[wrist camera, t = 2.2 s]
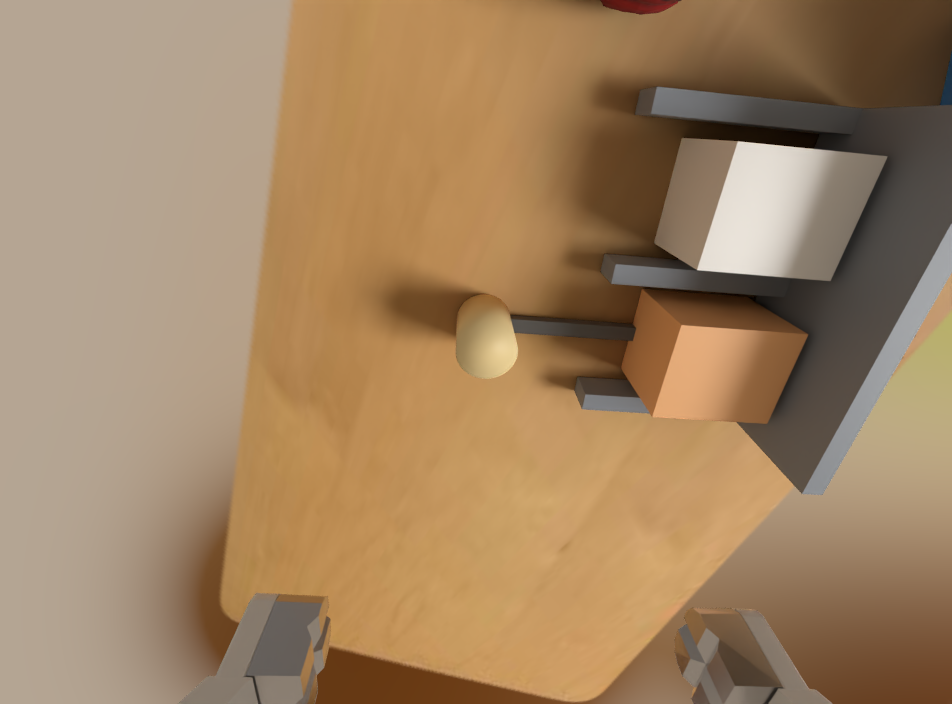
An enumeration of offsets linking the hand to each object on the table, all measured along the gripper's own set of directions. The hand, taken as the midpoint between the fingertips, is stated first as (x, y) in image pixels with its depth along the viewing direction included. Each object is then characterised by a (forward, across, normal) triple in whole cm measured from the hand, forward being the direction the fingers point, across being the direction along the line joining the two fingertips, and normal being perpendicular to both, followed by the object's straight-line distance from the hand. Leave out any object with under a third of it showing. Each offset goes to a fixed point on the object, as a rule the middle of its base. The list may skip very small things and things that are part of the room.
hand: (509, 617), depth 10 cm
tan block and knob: (+17, -7, 0) cm, 18 cm away
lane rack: (+17, -11, -4) cm, 21 cm away
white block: (+17, -12, -8) cm, 22 cm away
